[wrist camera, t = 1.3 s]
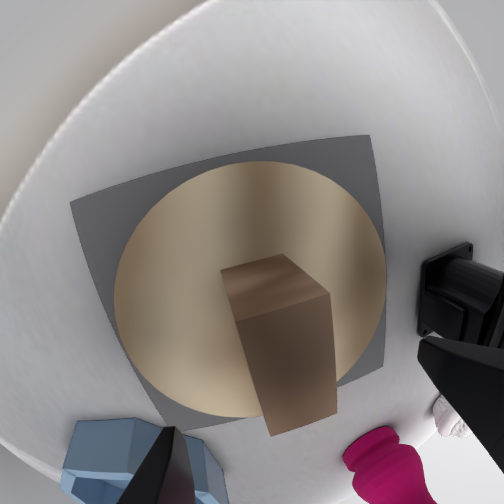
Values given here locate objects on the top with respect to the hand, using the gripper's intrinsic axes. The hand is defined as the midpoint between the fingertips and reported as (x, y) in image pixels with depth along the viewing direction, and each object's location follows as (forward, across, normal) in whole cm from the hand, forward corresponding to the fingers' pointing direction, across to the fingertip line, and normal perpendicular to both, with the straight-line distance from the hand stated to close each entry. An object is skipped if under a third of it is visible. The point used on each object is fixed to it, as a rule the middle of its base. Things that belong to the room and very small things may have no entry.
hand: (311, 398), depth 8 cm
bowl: (+7, +13, +13) cm, 20 cm away
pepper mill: (+8, -8, +21) cm, 24 cm away
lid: (+7, 0, 0) cm, 7 cm away
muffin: (+8, -19, +21) cm, 29 cm away
